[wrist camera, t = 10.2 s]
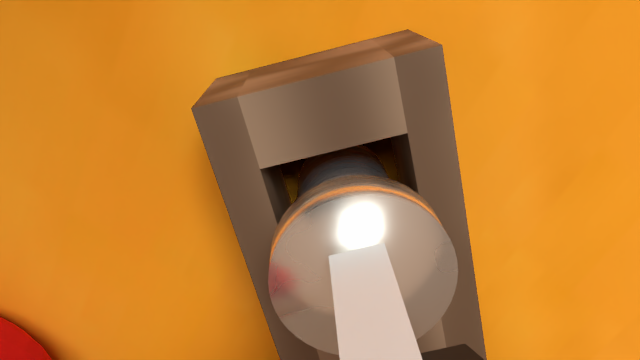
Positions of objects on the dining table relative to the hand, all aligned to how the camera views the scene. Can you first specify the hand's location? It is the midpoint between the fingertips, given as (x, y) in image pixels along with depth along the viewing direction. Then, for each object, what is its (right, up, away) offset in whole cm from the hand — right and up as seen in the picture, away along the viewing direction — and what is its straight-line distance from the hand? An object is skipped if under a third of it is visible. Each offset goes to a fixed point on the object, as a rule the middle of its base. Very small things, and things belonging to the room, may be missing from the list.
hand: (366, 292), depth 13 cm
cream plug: (0, +3, +7) cm, 7 cm away
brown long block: (+2, -5, +12) cm, 14 cm away
